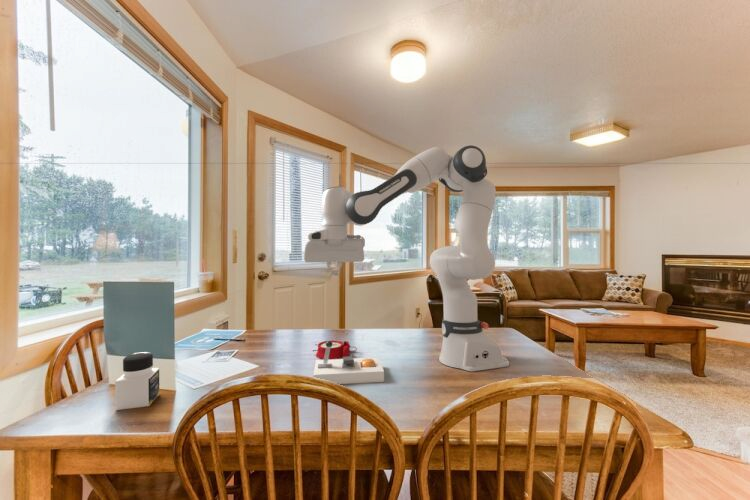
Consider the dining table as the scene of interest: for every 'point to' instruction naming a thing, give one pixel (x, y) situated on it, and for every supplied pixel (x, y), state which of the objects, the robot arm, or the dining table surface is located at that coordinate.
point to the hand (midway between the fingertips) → (334, 275)
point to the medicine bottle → (137, 382)
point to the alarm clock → (334, 350)
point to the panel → (349, 371)
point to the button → (367, 363)
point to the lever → (327, 351)
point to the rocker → (348, 360)
